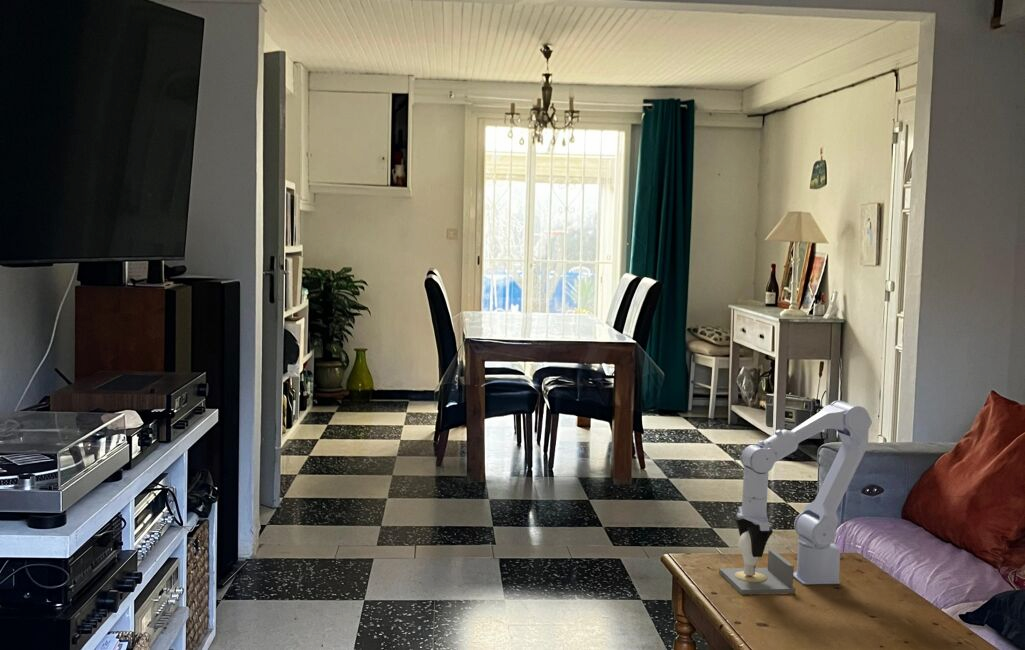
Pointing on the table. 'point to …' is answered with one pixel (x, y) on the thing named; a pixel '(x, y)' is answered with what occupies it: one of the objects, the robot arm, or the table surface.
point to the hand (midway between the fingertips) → (751, 552)
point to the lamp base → (763, 577)
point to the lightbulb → (747, 554)
